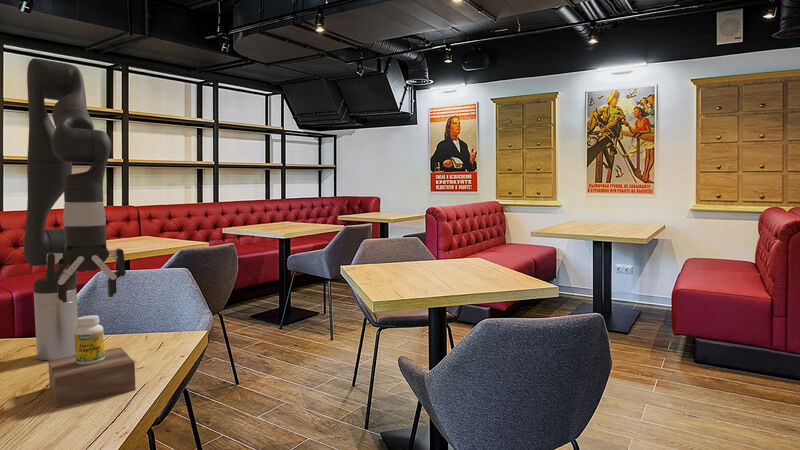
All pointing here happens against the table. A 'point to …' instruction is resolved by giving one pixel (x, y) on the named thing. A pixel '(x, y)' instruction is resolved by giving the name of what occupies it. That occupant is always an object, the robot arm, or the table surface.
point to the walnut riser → (91, 377)
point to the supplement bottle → (89, 340)
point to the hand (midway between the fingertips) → (88, 299)
